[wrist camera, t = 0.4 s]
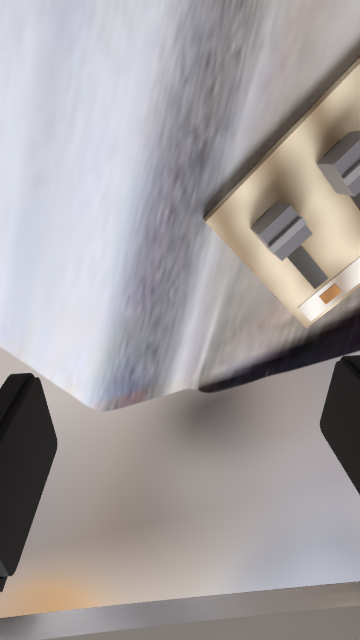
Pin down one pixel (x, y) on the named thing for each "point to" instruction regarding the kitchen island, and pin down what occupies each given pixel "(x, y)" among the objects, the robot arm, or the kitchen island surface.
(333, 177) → the switch tab
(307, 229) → the switch tab
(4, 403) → the robot arm
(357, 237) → the switch panel
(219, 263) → the kitchen island surface
